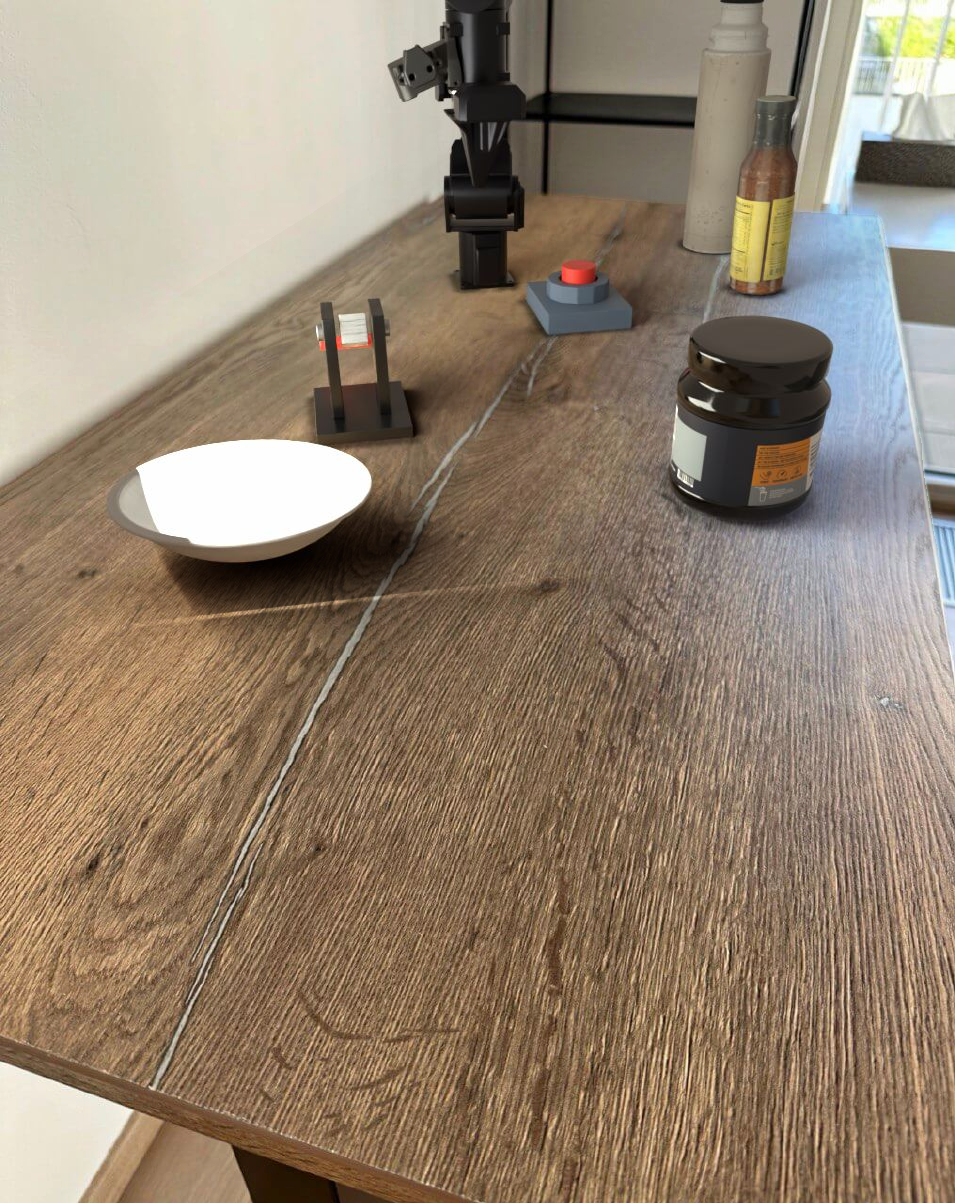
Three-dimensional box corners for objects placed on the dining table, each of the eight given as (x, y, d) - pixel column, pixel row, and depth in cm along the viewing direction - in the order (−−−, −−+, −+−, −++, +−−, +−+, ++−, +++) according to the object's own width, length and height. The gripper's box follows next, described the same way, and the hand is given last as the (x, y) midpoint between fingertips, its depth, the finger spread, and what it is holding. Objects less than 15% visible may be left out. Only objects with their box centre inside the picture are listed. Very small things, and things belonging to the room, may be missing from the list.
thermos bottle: (737, 236, 128) (770, -11, 112) (750, 253, 122) (787, -6, 106) (678, 237, 129) (702, -9, 112) (688, 254, 122) (715, -5, 106)
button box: (526, 301, 109) (526, 265, 106) (603, 295, 110) (605, 260, 107) (547, 335, 100) (548, 297, 97) (631, 328, 101) (634, 290, 99)
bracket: (314, 399, 88) (301, 293, 82) (401, 392, 89) (394, 286, 83) (318, 448, 80) (303, 333, 74) (413, 439, 81) (406, 325, 75)
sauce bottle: (778, 280, 113) (808, 92, 101) (786, 298, 108) (819, 101, 96) (721, 280, 113) (745, 92, 102) (727, 297, 108) (753, 102, 97)
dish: (92, 611, 61) (71, 545, 58) (157, 500, 73) (143, 440, 70) (365, 609, 61) (358, 542, 58) (387, 497, 73) (382, 437, 70)
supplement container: (839, 511, 69) (876, 352, 62) (713, 541, 67) (737, 378, 60) (756, 450, 78) (780, 304, 71) (641, 474, 75) (654, 324, 68)
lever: (321, 357, 91) (318, 331, 90) (384, 352, 91) (382, 327, 91) (318, 346, 78) (314, 315, 77) (391, 340, 79) (388, 310, 78)
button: (558, 277, 104) (558, 261, 103) (590, 275, 104) (590, 258, 103) (565, 287, 101) (566, 271, 100) (599, 285, 101) (599, 268, 100)
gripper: (381, 8, 96) (392, 175, 105) (399, 16, 81) (410, 210, 90) (490, 5, 98) (492, 170, 107) (527, 12, 83) (526, 204, 91)
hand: (478, 187), depth 98 cm, fingers closed
